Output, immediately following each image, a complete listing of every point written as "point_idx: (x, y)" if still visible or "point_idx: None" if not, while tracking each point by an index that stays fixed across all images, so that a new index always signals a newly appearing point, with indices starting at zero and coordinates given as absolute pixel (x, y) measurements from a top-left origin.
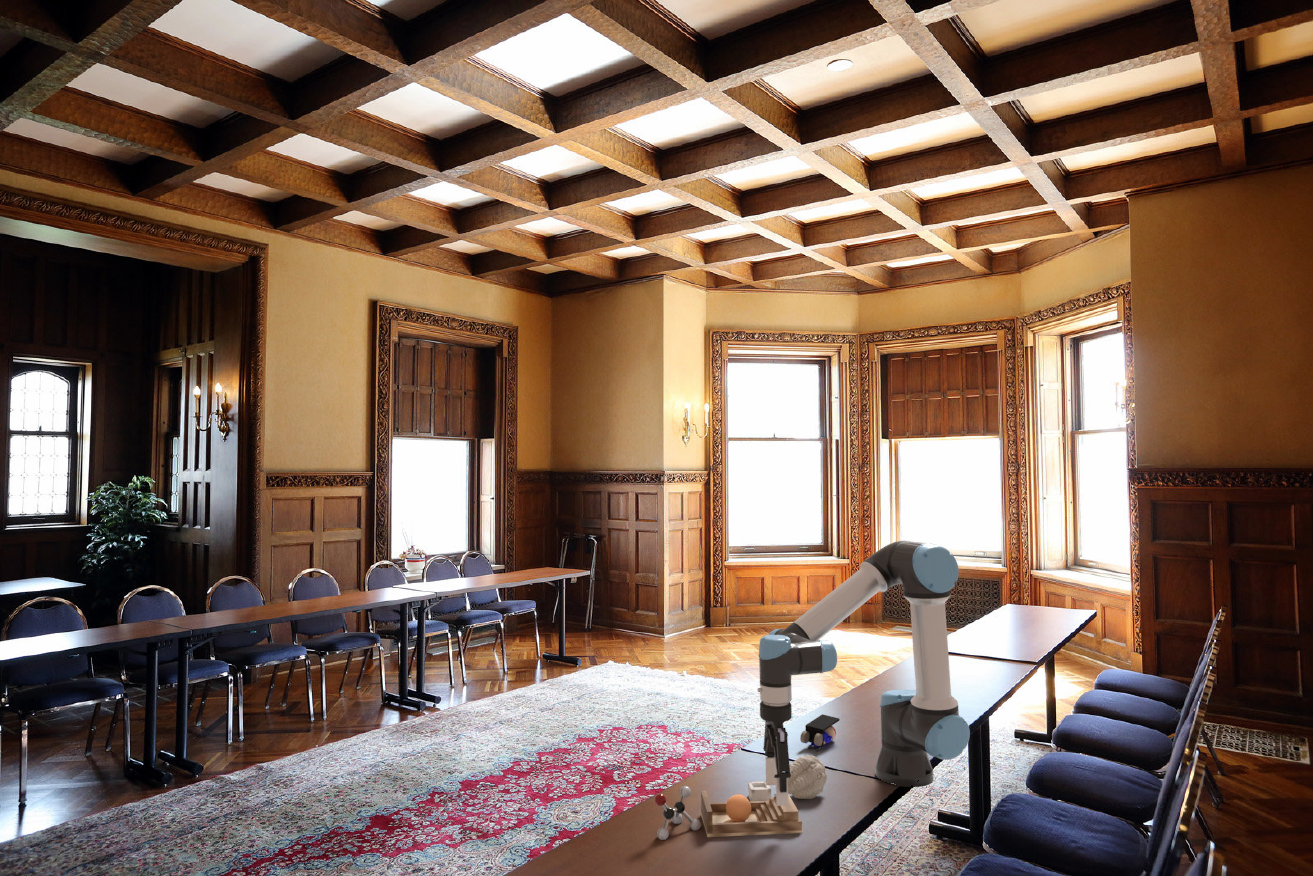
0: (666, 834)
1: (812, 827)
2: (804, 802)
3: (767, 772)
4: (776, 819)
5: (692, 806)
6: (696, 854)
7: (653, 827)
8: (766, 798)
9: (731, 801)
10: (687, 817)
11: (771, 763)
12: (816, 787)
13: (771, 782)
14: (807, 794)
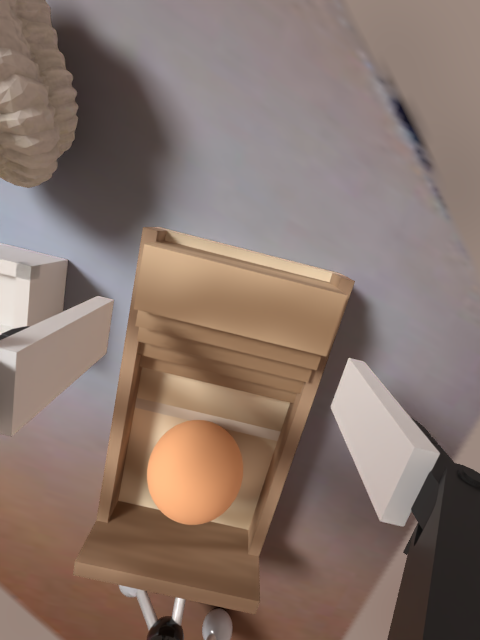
0: (230, 630)
1: (294, 201)
2: None
3: (72, 376)
4: (310, 372)
5: (36, 494)
6: (320, 575)
7: None
8: (52, 281)
9: (201, 523)
10: None
11: (41, 378)
12: (46, 13)
13: (102, 333)
14: (74, 93)
